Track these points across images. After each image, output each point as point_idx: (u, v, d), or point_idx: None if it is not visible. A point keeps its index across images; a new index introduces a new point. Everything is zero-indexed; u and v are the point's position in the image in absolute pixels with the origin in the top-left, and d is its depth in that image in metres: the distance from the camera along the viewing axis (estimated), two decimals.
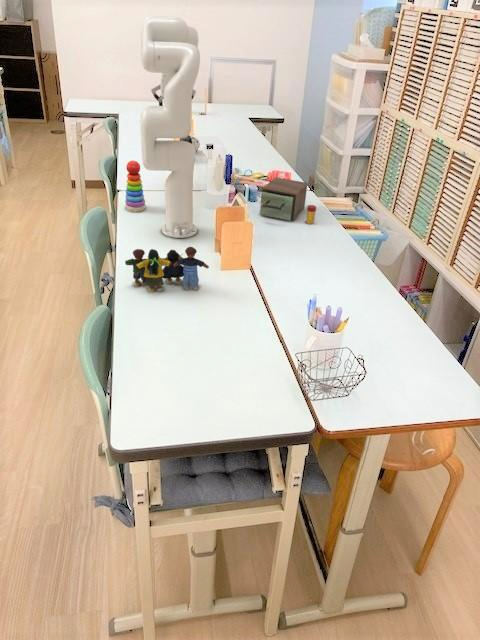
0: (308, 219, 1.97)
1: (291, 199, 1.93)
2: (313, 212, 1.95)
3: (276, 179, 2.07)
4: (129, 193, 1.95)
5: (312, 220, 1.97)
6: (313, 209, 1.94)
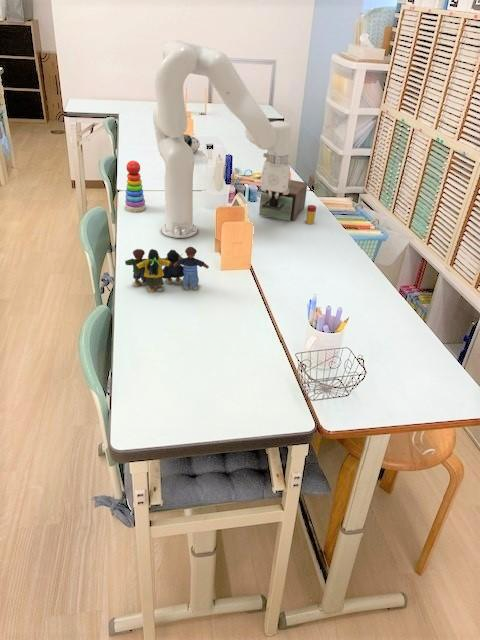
0: (308, 219, 1.97)
1: (290, 200, 1.92)
2: (313, 212, 1.95)
3: None
4: (129, 193, 1.95)
5: (312, 220, 1.97)
6: (313, 209, 1.94)
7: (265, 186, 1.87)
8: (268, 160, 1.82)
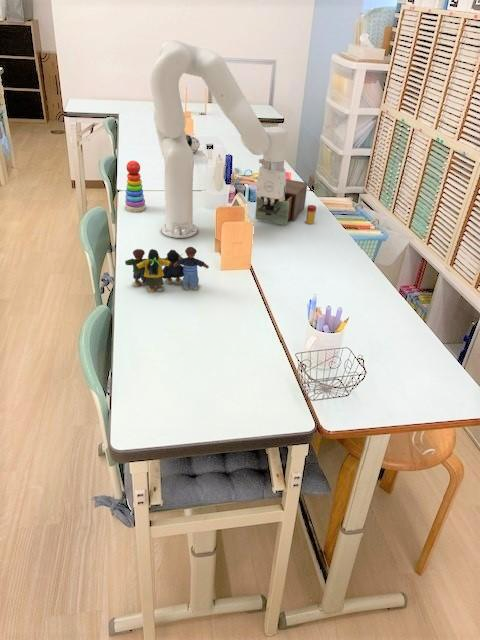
0: (308, 219, 1.97)
1: (287, 203, 1.89)
2: (313, 212, 1.95)
3: None
4: (129, 193, 1.95)
5: (312, 220, 1.97)
6: (313, 209, 1.94)
7: (260, 192, 1.84)
8: (264, 166, 1.79)
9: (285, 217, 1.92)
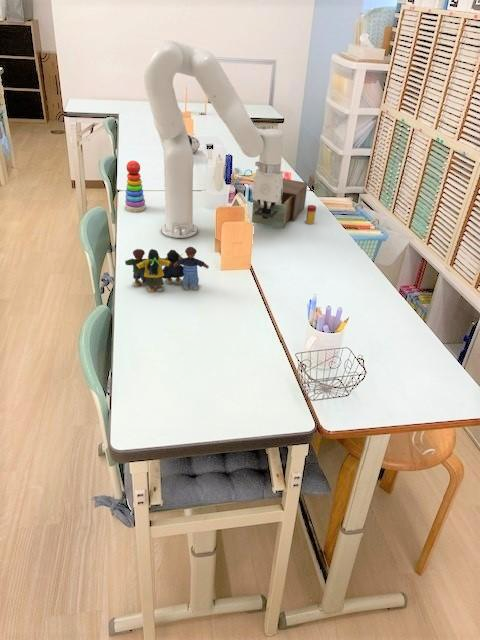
0: (308, 219, 1.97)
1: (284, 206, 1.86)
2: (313, 212, 1.95)
3: None
4: (129, 193, 1.95)
5: (312, 220, 1.97)
6: (313, 209, 1.94)
7: (257, 195, 1.82)
8: (260, 169, 1.76)
9: (282, 220, 1.89)
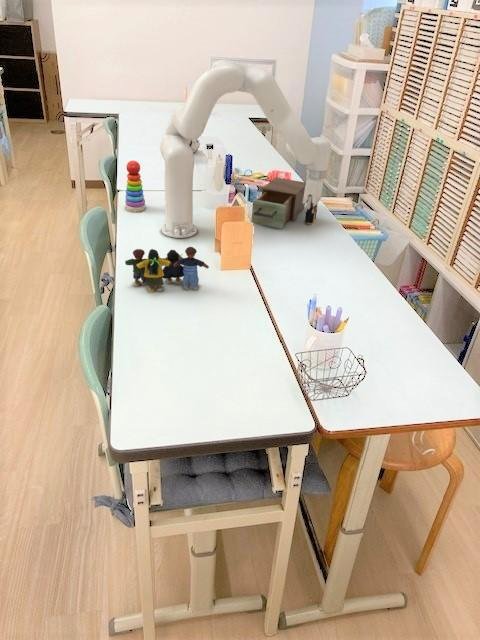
0: None
1: (283, 207, 1.86)
2: (313, 212, 1.95)
3: (276, 179, 2.07)
4: (129, 193, 1.95)
5: None
6: None
7: None
8: None
9: (282, 221, 1.88)
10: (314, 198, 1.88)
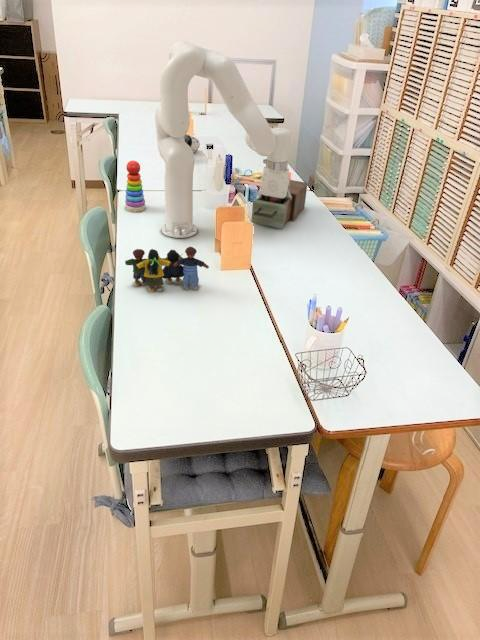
0: None
1: (284, 207, 1.86)
2: None
3: None
4: (129, 193, 1.95)
5: None
6: None
7: (264, 192, 1.89)
8: (268, 166, 1.83)
9: (282, 221, 1.88)
10: None
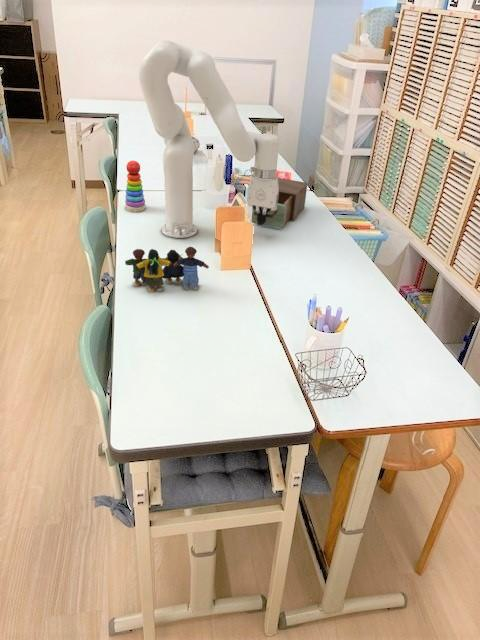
0: None
1: (284, 207, 1.86)
2: None
3: None
4: (129, 193, 1.95)
5: None
6: None
7: (252, 201, 1.78)
8: (255, 174, 1.73)
9: (282, 221, 1.89)
10: None
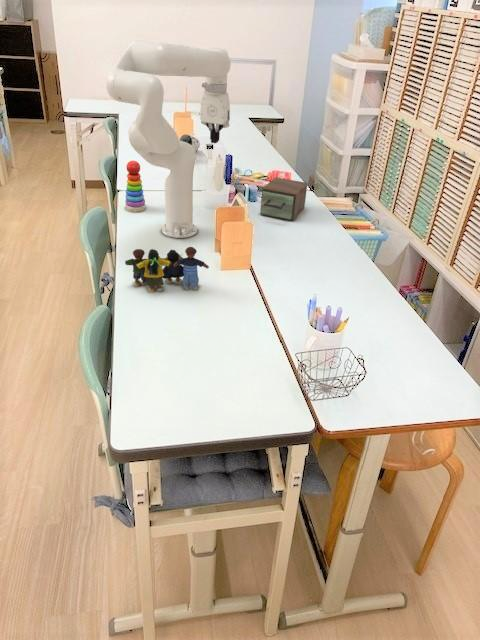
0: None
1: (292, 198, 1.93)
2: None
3: (276, 179, 2.07)
4: (129, 193, 1.95)
5: None
6: None
7: (204, 118, 1.84)
8: (206, 89, 1.78)
9: (290, 212, 1.96)
10: (229, 112, 1.84)
